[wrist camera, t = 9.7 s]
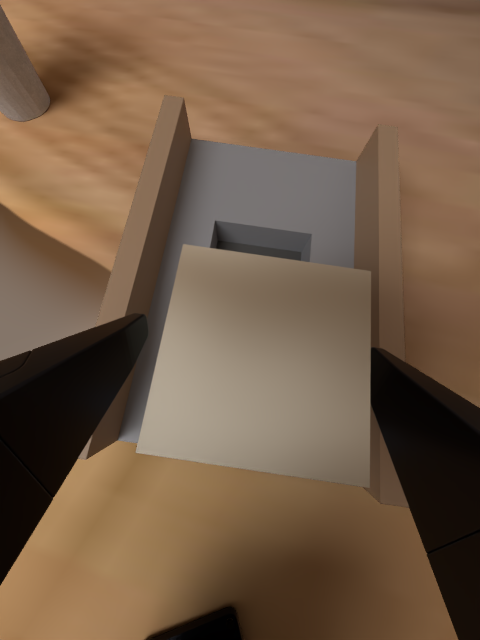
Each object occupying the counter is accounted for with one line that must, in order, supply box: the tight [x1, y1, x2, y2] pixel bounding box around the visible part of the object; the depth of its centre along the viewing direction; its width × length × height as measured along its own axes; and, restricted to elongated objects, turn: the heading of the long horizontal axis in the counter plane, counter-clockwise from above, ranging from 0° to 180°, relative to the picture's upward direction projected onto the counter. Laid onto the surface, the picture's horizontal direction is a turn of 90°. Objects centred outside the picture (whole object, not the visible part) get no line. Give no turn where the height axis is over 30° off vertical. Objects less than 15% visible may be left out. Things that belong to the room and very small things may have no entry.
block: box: [136, 244, 371, 488], centre depth 10 cm, size 5×5×10 cm
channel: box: [78, 95, 409, 508], centre depth 16 cm, size 25×18×6 cm
